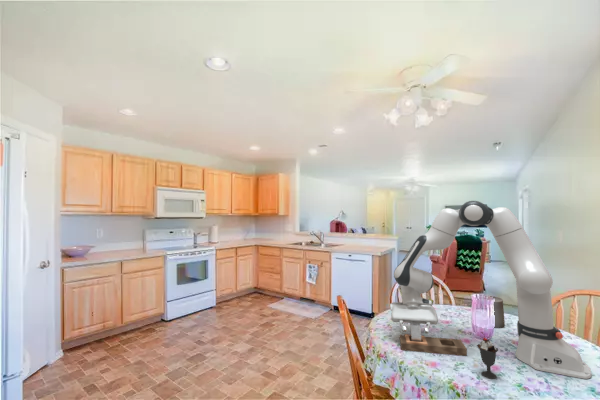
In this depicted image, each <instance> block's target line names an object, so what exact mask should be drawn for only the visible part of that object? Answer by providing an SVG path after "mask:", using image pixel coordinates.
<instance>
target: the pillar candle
mask: <svg viewBox="0 0 600 400" xmlns="http://www.w3.org/2000/svg"><path fill="white" fill-rule="evenodd" d="M489 296H490V297H493V298H495V302H494V311H495V312H494V315H495V328H494V329H503V328H505V326H506V325H505V324H506V323H505V311H504V299H503V298H500V297H499V296H498V297H497V296H493V295H492V296H491V295H489Z"/></svg>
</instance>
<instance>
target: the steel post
mask: <svg viewBox="0 0 600 400" xmlns="http://www.w3.org/2000/svg"><path fill="white" fill-rule="evenodd" d="M409 324H410V325H409V328H410V331H409V332H410V335H411V341H417V342H421V335H422V329H421V328H422V327H421V324H420V323H411V322H410V323H409Z"/></svg>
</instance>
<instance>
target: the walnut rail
mask: <svg viewBox="0 0 600 400" xmlns="http://www.w3.org/2000/svg"><path fill="white" fill-rule="evenodd" d="M399 343H400V348H401V351H406V352H418V353H426V354H427V353H428V354H429V353H430V354H439V355H451V356H462V357H468V348H467V347H466V345H465V344H464V342H463V341H462V340H461V339H457V338H443V337H434V336H433V337H432V336H425V335H422V334H421V342H417V341H411V333H410V334H407V333H404V334H399Z"/></svg>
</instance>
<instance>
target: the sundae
mask: <svg viewBox="0 0 600 400" xmlns="http://www.w3.org/2000/svg"><path fill="white" fill-rule="evenodd" d="M481 334H482V335H483V336H484V337H483V338H482V340H481V341H480V342H479V343H478V344H476V346H477V349H479V353H480V358H481V361H482V362H483V364H484V365H485V366H486V370H483V371H481V372H480V374H481V376H483V377H484V378H487V379H489V380H495V379H497V378H498V376H497V374H496V373H494V372H492V370H491V369H492V368H491V367H492V366H494V365H495V364H496V355H497V352H498V351H499V348H497V347H496V346H495V345H494V344H493V343H492V341H491V340H489V339H487V338H486V335H485V333H484V332H483V331H481Z"/></svg>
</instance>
